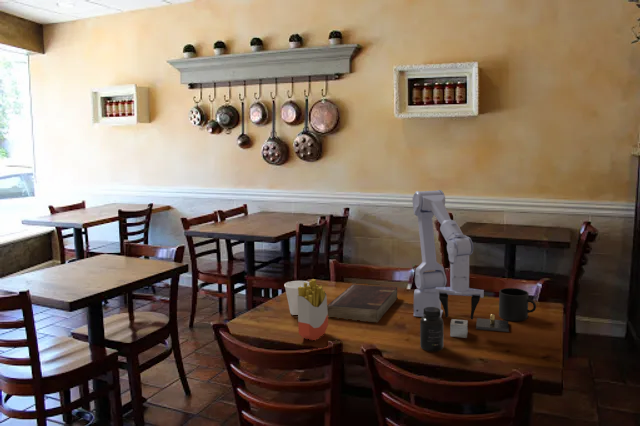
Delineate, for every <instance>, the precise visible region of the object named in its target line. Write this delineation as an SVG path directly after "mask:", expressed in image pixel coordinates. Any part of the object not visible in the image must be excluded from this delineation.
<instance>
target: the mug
mask: <svg viewBox="0 0 640 426" xmlns="http://www.w3.org/2000/svg"><path fill="white" fill-rule="evenodd" d="M498 294H499V296H498V298H499V299H498V300H499V301H498V317H499V318H501V319H503V320H505V321H508V322H522V321H523V322H524V321H526V320H527V319H528V318H529V313H533V312H534V311H536V309H537V304H536V302H535V301H534V300H532V299H530V298H529V294H530V293H529V292H528V291H527V290H526V289H525V290H524V289H522V288H516V287H507V288H505V287H504V288H501V289H499V293H498ZM529 303H530V304H532V306H533V308H532V309H529Z"/></svg>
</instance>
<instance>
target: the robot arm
mask: <svg viewBox="0 0 640 426" xmlns="http://www.w3.org/2000/svg"><path fill="white" fill-rule="evenodd" d="M445 205H446V196H445V193H444V192H443V191H442V190H441V189H437V190H423V191H420V190H416V191H415V192H414V194H413V197H412V209H413V215H414V216H416V217H417V221H418V222H417V223H418V224H417V225H418V233H419V243H420V253H421V263H420V264H419V265H418V266H417V267H416V268H415V271H414V272H415V276H414V283H415V284H414V285H415V286H416V289H414V293H413V316H412V317H419V318H420V317H421V318H422V317H424V315H423V313H424V308H426V307H436V308H439V309H440V317H441V318H442V315H443V312H444V316H445V318H448V317H449V296H464V297H465V296H466V297H471V299H470V302H471V303H470V309H471V310H470V320H474V314H475V311H476V309H477V306H478V304H479V303H480V300H481V299H480V298H482V299H483V298H484V295H485V294H484V293H485V292H484V291H485V290H484V289H479V288H471V287H470V256H471V255H472V254H473V252H474V243H473V241H472V238H471V237H469V236H468V235H466V234H464V233H463V232H462V230H461V228H460V226H459V225H458V223H457V221H456V220H455V219H454V220H453V219H451V217H450V213H449V212H448V210H447V207H446V206H445ZM434 217H435V218H436V219H437V221H438V223H439V224H440V227H439V230H440V232H441V235H442V237H443V238H444V240H445V242H446V243H447V244H446V251H447V254H448V255H447V256H448V261H449V262H450V263H449V264H450V265H449V267H450V272H449V273H450V276H449V277H450V278H449V279H450V281H449V282H450V283H449V284H450V286H447V282H448V281H447V275H446V272H445V269H444V268H445V267H444V266H443V265H442V264H440V263H439V262H438V261H437V252H436V242H435V234H434V225H433V218H434ZM442 307H443V309H442Z"/></svg>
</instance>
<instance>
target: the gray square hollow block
mask: <svg viewBox="0 0 640 426" xmlns="http://www.w3.org/2000/svg"><path fill="white" fill-rule="evenodd" d="M468 323H469V321H468V320H467V319H454V318H451V320H450V325H449V326H450V327H449V329H450V332H449V333H450V335H449V336H450V337H451V338H452V337H453V338H454V337H455V338H465V339H467V338H468V332H469V331H468V330H469V329H468V326H469V325H468Z"/></svg>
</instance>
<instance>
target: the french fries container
mask: <svg viewBox="0 0 640 426" xmlns="http://www.w3.org/2000/svg"><path fill="white" fill-rule="evenodd" d="M308 282H309V285H308V286H307V283H304V287H298V294H299V295H298V296H297V299H298V316H297V321H298V322H297V323H298V325H297V326H298V335H299V336H300V337H302V339H304V338H305V340H308V339H309V341H313V340H315V341H317V340H318V339H320V338H321V337H320V336H322V335H323V334H324V335H325V333H326V331H327V329H328V326H329V317H328V310H327V305H328V300H327V299H328V298H327V292H326V290H324V288H323V285H320V286H319V285H318V284H317V279H314V278H312V279H310V280H309V281H308ZM324 335H323V336H324ZM323 336H322V337H323ZM319 337H320V338H319ZM317 338H318V339H317ZM316 339H317V340H316Z"/></svg>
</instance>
